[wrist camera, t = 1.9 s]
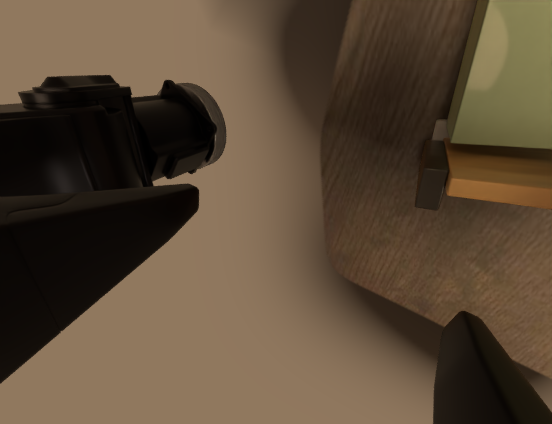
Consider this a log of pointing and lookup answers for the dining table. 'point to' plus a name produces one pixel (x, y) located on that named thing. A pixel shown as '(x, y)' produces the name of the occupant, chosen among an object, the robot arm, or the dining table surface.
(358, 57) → the dining table surface
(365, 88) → the dining table surface
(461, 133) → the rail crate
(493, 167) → the sliding door
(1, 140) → the robot arm
